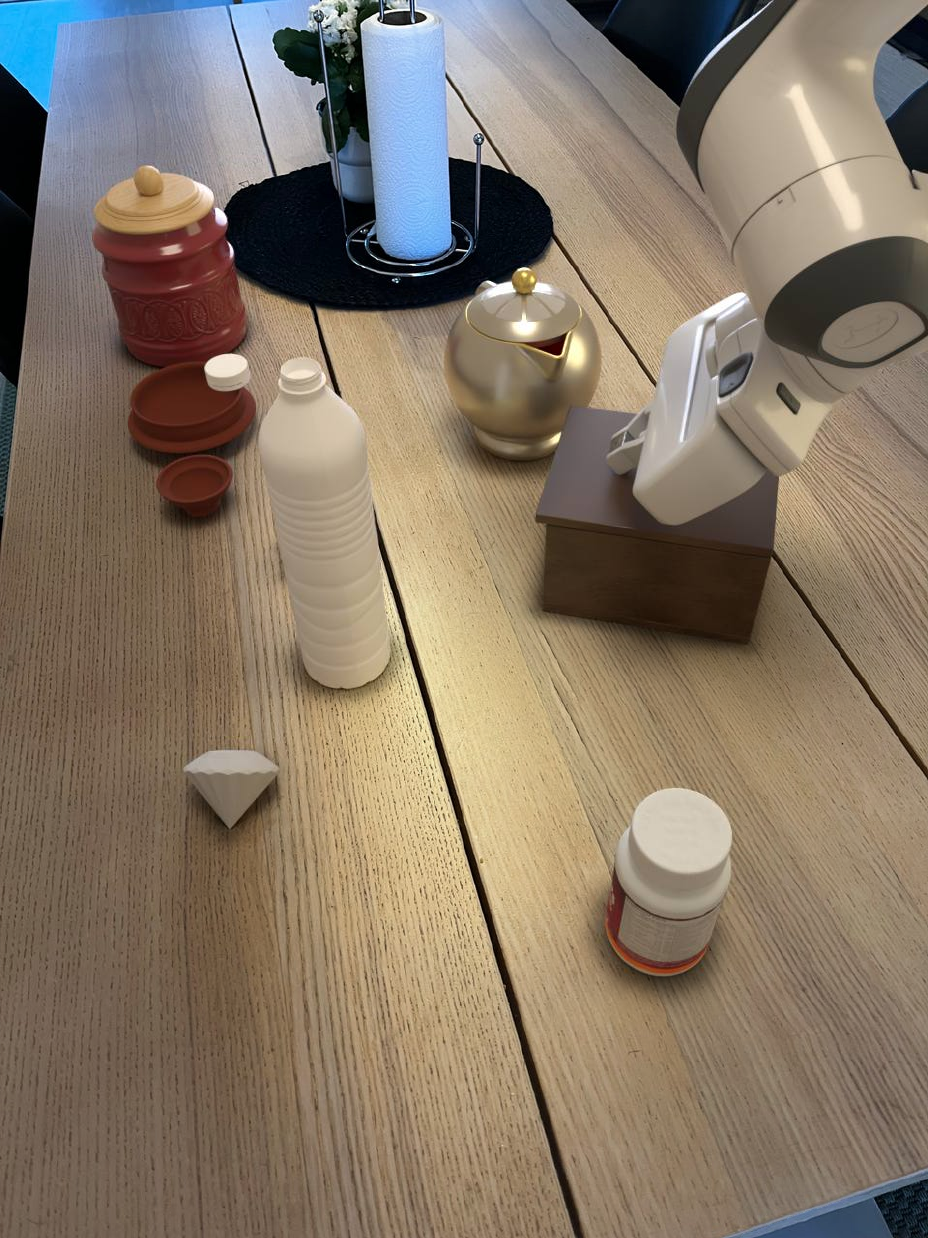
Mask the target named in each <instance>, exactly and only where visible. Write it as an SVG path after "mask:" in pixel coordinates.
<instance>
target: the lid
mask: <svg viewBox="0 0 928 1238" xmlns="http://www.w3.org/2000/svg"><path fill="white" fill-rule="evenodd" d="M637 414H638V413H636V412H628V411H620V410H613V409H612V410H611V409H606V408H605V409H604V408H598V407H597V408H596V407H589V406H587V407H581V406H573V405H570V407H569V410H568V413H567V416H566V420H565V423H564V426H563V429H562V432H561V435H560V439H559V442H558V445H557V448H556V451H555V452H554V453H553V454H554V455H553V458H552V461H551V464H550V467H549V470H548V474H547V476H546V480H545V483H544V486H543V489H542V493H541V495H540V498H539V502H538V505H537V507H536V512H535V516H534V517H535V519H534V522H535V523H537V524H543V525H546V524H549V525H555V526H562V527H569V528H575V529H582V530H589V531H595V532H602V533H609V534H615V535H622V536H629V537H636V538H642V539H649V540H656V541H662V542H669V543H676V544H682V545H689V546H696V547H703V548H709V549H716V550H723V551H729V552H736V553H743V554H749V555H756V556H763V557H769V558H771V559H772V557H773V554H774V551H775V539H776V538H775V536H776V523H777V511H778V509H777V508H778V498H779V483H780V476H778V477H777V476H775V475H773V474H772V473H771V472H770V471H769V470H768V469H766V471H765V473H764V475H763V476H762V477H761V478H760V480H759V481H758V482H757V483H756V484H755V485H753V486H752V487H751V488H749V489H748V490H747V491H745V492H744V493H742V494H740V495H739V496H737V497H735V498H733V499H732V500H730V501H728V502H726V503H724V504H722V505H720V506H718V507H717V508H715V509H713V510H711V511H709V512H707V513H705V514H703V515H701V516H698V517H696V518H694V519H692V520H690V521H688V522H685V523H683V524H680V525H666V524H662V523H660V522H659V521H657V520H656V519H655V518H654V517H653V516H652V515H651V514H650V513H649V512H648V511H647V510H646V509H645V508H644V507H643V506H642V504H641V503H640V502H639V501H638V500H637V499H636V498H635V496H634V495H633V486H634V482H635V478H636V473H637V469H638V466H636V467H634V468H633V469H631V470H629V471H628V472H626V473H624V474H621V475H619V474H616V473H615V472H614V471H613V470H612V469H611V468H610V467H609V466H608V465H607V464H606V457H607V454H608V450H609V447H610V443H611V438H612V436H613V435H614V434H615V433H617V432H618V431H620V430H621V429H623V428H625V427H626V426H628V424H629V423H630V422H631V421H632V419H633V418H634V417H635V416H636V415H637Z"/></svg>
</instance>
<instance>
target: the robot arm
mask: <svg viewBox="0 0 928 1238" xmlns="http://www.w3.org/2000/svg"><path fill="white" fill-rule="evenodd" d="M927 6H928V0H771V1H770V2H768V4H766V5H765V6H764V7H762V8H761V9H760V10H759V11H757V13H755V14H753V15H752V16H751V17H750V18H748V19H747V20H745V21H744V22H743V23H742V24H740V25H739V26H738V27H737V28H736V29H734V30H732V32H730V33H729V34H727V36H726V37H724V38H723V39H722V40H721V41H720V42H719V43H718V44H717V45H716V46H715V47H714V48H713V49H712V50H711V51H710V52H709V53H708V55H706V57H705V58H704V59H703V61H702V62H701V64H700V65H699V67H698V68H697V70H696V71H695V73H694V75H693V77H692V78H691V81H690V83H689V85H688V87H687V89H686V91H685V93H684V97H683V98H682V101H681V104H680V107H679V109H678V113H677V118H676V125H675V128H676V129H675V133H676V134H675V135H676V141H677V144H678V147H679V149H680V151H681V153H682V155H683V157H684V159H685V161H686V163H687V165H688V166H689V168H690V171H691V173H692V174H693V176H694V178H695V180H696V182H697V184H698V185H699V188H700V190H701V191H702V192H703V194H704V195H705V196H706V199H707V202H708V204H709V207H710V209H711V211H712V215H713V217H714V220H715V222H716V225H717V228H718V230H719V232H720V234H721V237H722V240H723V242H724V245H725V248H726V250H727V252H728V256H729V258H730V261H731V263H732V264H733V266H734V268H735V269H736V272H737V275H738V277H739V279H740V281H741V284H742V288H743V289H744V291H743V292H741V291H740V292H736V293H734V294H731V295H729V296H727V297H725V298H723V299H720V300H719V301H718V302H716V303H714V304H713V305H711V306H709V307H708V308H706V309H704V310H702V311H701V312H699V313H697V314H696V315H694V316H692V317H691V318H689V319H688V320H687V321H685V322H683V323H681V324H680V325H679V326H678V327H676V329H675V330H673V332H672V333H671V334H670V335H669V337H668V338H667V339H666V341H665V344H664V349H663V353H662V358H661V363H660V366H659V367H660V368H659V371H658V376H657V380H656V385H655V389H654V393H653V398H652V400H651V401H649V402H647V403H646V404H645V405H644V406H643V407H642V408H641V409H640V411H638V413H636V414H637V415H636V416H635V417H634V418H633V419H632V421H631V422H630V423H629V424H628V426H626V427H625V428H623V429H621V430H620V431H618V432H617V433H615V434H614V435H613V436H612V438H611V443H610V447H609V450H608V454H607V457H606V464H607V465H608V466H609V467H610V468H611V469H612V470H613V471H614V472H615V473H616V474H619V475H621V474H624V473H626V472H628V471H629V470H631V469H633V468H634V467H636V466H638V469H637V473H636V478H635V482H634V486H633V495H634V496H635V498H636V499H637V500H638V501H639V502H640V503H641V504H642V506H643V507H644V508H645V509H646V510H647V511H648V512H649V513H650V514H651V515H652V516H653V517H654V518H655V519H656V520H657V521H659V522H660V523H662V524H666V525H680V524H683V523H685V522H688V521H690V520H692V519H694V518H696V517H698V516H701V515H703V514H705V513H707V512H709V511H711V510H713V509H715V508H717V507H718V506H720V505H722V504H724V503H726V502H728V501H730V500H732V499H733V498H735V497H737V496H739V495H740V494H742V493H744V492H745V491H747V490H748V489H749V488H751V487H752V486H753V485H755V484H756V483H757V482H758V481H759V480H760V478H761V477H762V476H763V475H764V473H765V471H766V469H768V470H769V471H770V472H771V473H772V474H773V475H775V476H777V477H778V476H779V477H782V476H785V475H787V474H789V473H791V472H793V471H794V470H796V469H797V468H799V467H800V466H801V465H802V464H803V463H804V461H805V460H806V458H807V456H808V453H809V451H810V448H811V446H812V444H813V441H814V440H815V438H816V436H817V433H818V432H819V429H820V428H821V426H822V424H823V423H824V421H825V420H826V419H827V417H828V416H829V414H830V413H831V411H832V410H833V407H834V403H835V402H838V401H839V400H841V399H843V398H845V397H847V396H848V395H850V394H852V393H853V392H855V391H857V390H858V389H859V388H860V387H861V386H863V385H864V384H865V382H867V381H868V380H869V379H870V378H871V377H872V376H873V375H875V374H876V373H877V372H879V371H880V370H882V369H883V368H885V367H887V366H889V365H891V364H895V363H898V362H901V361H905V360H908V359H912V358H915V357H918V356H919V355H921V354H923V353H925V352H926V351H928V173H924V172H921V171H918V170H916V169H912V171H911V172H910V170H909V168H908V167H907V165H906V164H905V162H904V160H903V158H902V156H901V154H900V152H899V149H898V148H897V145H896V143H895V140H894V138H893V137H892V136H893V135H892V133H891V132H890V130H889V128H888V125H887V123H886V121H885V119H884V116H883V114H882V112H881V110H880V108H879V105H878V103H877V101H876V98H875V91H874V75H875V74H874V73H875V67H876V62H877V59H878V55H879V54H880V51H881V50H882V48H883V46H884V45H885V44H886V42H888V41H889V40H890V39H891V38H892V37H894V35H895V34H897V33H898V32H899V31H900V30H902V28H903V27H905V26H906V25H907V24H908V23H909V22H910V21H912V20H913V18H914V17H916V16H917V15H918V14H919V13H920V12H921V11H922V10H923V9H925V8H926V7H927Z"/></svg>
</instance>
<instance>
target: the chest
mask: <svg viewBox="0 0 928 1238" xmlns="http://www.w3.org/2000/svg"><path fill="white" fill-rule="evenodd" d="M771 562H772V557H771V558H769V557H763V556H756V555H749V554H743V553H736V552H729V551H723V550H716V549H709V548H703V547H696V546H689V545H682V544H676V543H669V542H662V541H656V540H649V539H642V538H636V537H629V536H622V535H615V534H609V533H602V532H595V531H589V530H582V529H575V528H569V527H562V526H555V525H549V524H545V539H544V560H543V563H544V564H543V582H542V602H541V603H542V605H541V606H542V607H541V610H542V612H549V613H555V614H561V615H567V616H573V617H579V618H586V619H591V620H597V621H604V622H608V623H609V622H610V623H616V624H621V625H627V626H634V627H638V628H639V627H640V628H645V629H651V630H656V631H657V630H658V631H663V632H669V633H675V634H680V635H681V634H682V635H687V636H692V637H699V638H706V639H711V640H716V641H717V640H718V641H724V642H728V643H735V644H742V645H749V643H750V640H751V636H752V633H753V629H754V625H755V622H756V618H757V614H758V611H759V607H760V604H761V600H762V595H763V592H764V588H765V584H766V581H767V577H768V572H769V569H770V566H771Z"/></svg>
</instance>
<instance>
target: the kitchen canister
mask: <svg viewBox="0 0 928 1238" xmlns="http://www.w3.org/2000/svg"><path fill="white" fill-rule="evenodd" d="M93 216H94V219H95V221H96V222H97V224H96V225H95V226H94V228H93V232H92V234H91V241H92V245H93V246H94V248H95V249H96V250H97V252H99V253H100V254H102V259H103V262H102V265H101V275H102V278H103V279H104V281H105V282H106V284H107V288H108V290H109V294H110V297H111V300H112V304H113V307H114V311H115V314H116V318H117V320H118V323H117V324H118V327H117V328H118V330H119V333H120V337H121V340H122V341H123V343H124V344H125V345H126V347H127V350H128V351H129V353H130V354H131V356H133V357H134V358H135V359H137V360H138V361H141V362H142V363H145V364H149V365H152V366H156V367H162V368H165V367H168V366H171V365H175V364H180V363H186V362H208V361H209V360H210V359H212V358H214V357H216V356H219V355H223V354H229V353H230V352H231V351H233V350H234V349H235V348H236V347H237V346H238V345H240V343H241V342H242V341H243V339H244V338H245V335H246V334H247V333H246V332H247V320H248V319H247V318H248V317H247V315H248V314H247V311H246V305H245V303H244V301H243V299H242V294H241V289H240V285H239V277H238V274H237V268H236V264H235V258H236V256H235V250H234V247H233V245H232V244H231V243H230V242H229V241H228V239H227V237H226V233H227V231H228V227H229V219H228V216H227V214H226V213H225V211H224V210H223V209H222V208H220V207H219V206H218V205H216V204H215V195H214V193H213V191H212V190H211V189H210V188H209V187H208V186H207V185H204V184H203V183H201V182H198V181H194V180H193V179H191V178H190V177H188V176H185V175H181V174H177V173H172V172H171V173H170V172H160V171H159V169H157V168H156V167H154V166H153V165H142V166H140V167H138V168H137V169H136V170H135V172H134V176H133V177H130V178H127V179H125V180H122V181H121V182H118V183H116V184H115V185H114V186H112V187H111V188H109V190H108V192H107V193H106V194H104V195H103V196H102V197H101V198H100V199H99V200H98V201H97V202H96V204H95V206H94V209H93Z"/></svg>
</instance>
